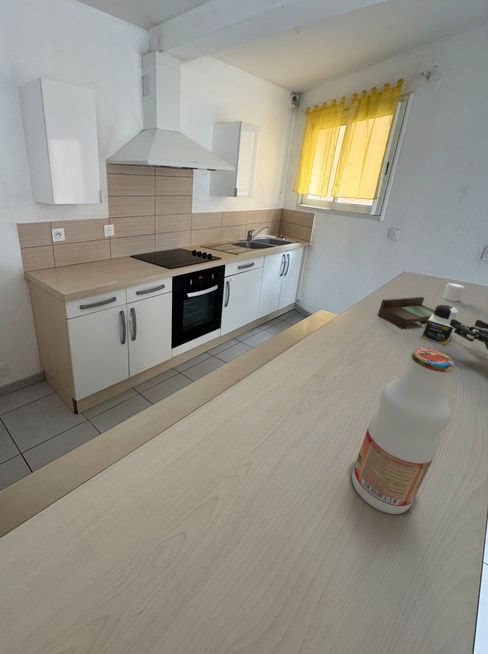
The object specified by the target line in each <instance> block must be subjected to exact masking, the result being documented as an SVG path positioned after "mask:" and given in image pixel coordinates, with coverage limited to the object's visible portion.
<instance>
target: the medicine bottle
mask: <svg viewBox="0 0 488 654" xmlns="http://www.w3.org/2000/svg"><path fill="white" fill-rule="evenodd" d="M434 310H435V312H434V314H433V315H432V316H431V317H430V318H429V320H428V321H426V325H425V326H424V327H425V328H424V330H423V333H422V335H421V338H423V339H425V340H427V341H432V342H435V343H438V344H441V345H444V346H446V345H448V343H449V341H450V339H451V337H452V335H453V333H454V331H455V328H454V327H452V326H450V322H451V320H452V319H455V320H457V316H458V314H459V309H457V308H456V307H453V306H451V305H447V304H439V305H436V306H435V309H434Z"/></svg>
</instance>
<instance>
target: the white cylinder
mask: <svg viewBox="0 0 488 654" xmlns="http://www.w3.org/2000/svg"><path fill="white" fill-rule="evenodd" d="M465 289H466V286H464V285H463V284H459V283H454V282H447V283H446V286H445V289H444V292H443V297H442V298H443V299H444V300H447V301H449V302H458V301H459V300H460V298H461V296H462V294H463V292H464V290H465Z"/></svg>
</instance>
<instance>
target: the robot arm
mask: <svg viewBox="0 0 488 654" xmlns="http://www.w3.org/2000/svg"><path fill="white" fill-rule="evenodd" d="M450 326H452V327H454V330H453V333H454V334H456V335H458V336H460V337H462V338H463V339H465V340H467V341H469V342H474V341H475V340H476V341H478V342H482V343H484V345H485V348H486V350H487V351H488V323H487V322H485V321H484V320H481V319H476V321H475V323H474V325H468V324H464V323H462V322H461V321H460V320H457V319H452V320H451V322H450ZM474 330H475V331H474Z"/></svg>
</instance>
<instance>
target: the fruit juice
mask: <svg viewBox="0 0 488 654" xmlns="http://www.w3.org/2000/svg"><path fill="white" fill-rule="evenodd" d="M410 361H411V364H410V365H409V367H408V368H407V369H406V370H405V371H404V372H403V373H402V374H401V375H400V376H399V377H398V378H396V379H393V380H391V381H390V382H388V383H387V384H385V385H384V386H383V388H382V390H381V392H380V396H379V408H377V409H376V410H375V411H374V413H373V414H372V416H371V418H370V421H369V423H368V426H367V430H366V432H365V435H364V438H363V441H362V444H361V447H360V449H359V452H358V455H357V458H356V460H355V464H354V467H353V469H352V474H351V475H352V476H351V480H352V481H351V482H352V484H353V488H354V490H355V491H356V493H357V494H358V495H359V496H360V498H362V499H363V501H365V502H366V503H367V504H368V505H370V506H371V507H373V508H374V509H376V510H378V511H379V512H383V513H386V514H390V515H400V514H403V513H405V512H407V511H408V510H409V509H410V507H411V506H412V504H413V503H414V501H415V498H416V496H417V494H418V492H419V490H420V488H421V486H422V483H423V481H424V479H425V477H426V475H427V473H428V471H429V468H430V467H431V465H432V462H433V460H434V459H435V457H436V454H437V453H438V449H439V445H440V442H441V441H440V440H441V438H440V434H441V433H442V431H444V430H445V429H446V428H447V427H448V426H449V423H450V421H451V419H452V408H451V404H450V402H449V398H448V396H447V395H448V394H447V376H448V375H449V374H451V372H452V371H453V370H454V366H455V362H454V359H452V357H450V356H449V355H447V354H445V353H444V352H441V351H438V350H435V349H433V348H432V349H431V348H426V347H419V348H416V349H415V350H413V352H412V354H411V358H410Z"/></svg>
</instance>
